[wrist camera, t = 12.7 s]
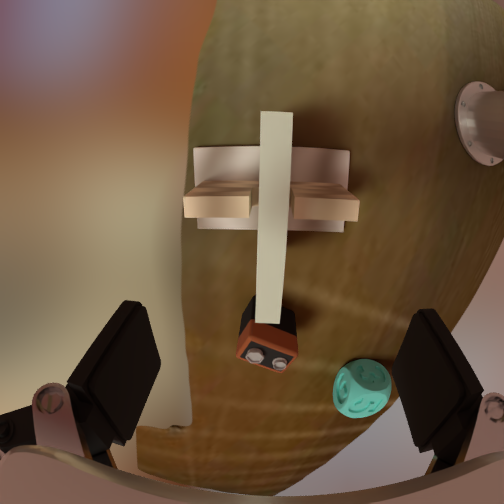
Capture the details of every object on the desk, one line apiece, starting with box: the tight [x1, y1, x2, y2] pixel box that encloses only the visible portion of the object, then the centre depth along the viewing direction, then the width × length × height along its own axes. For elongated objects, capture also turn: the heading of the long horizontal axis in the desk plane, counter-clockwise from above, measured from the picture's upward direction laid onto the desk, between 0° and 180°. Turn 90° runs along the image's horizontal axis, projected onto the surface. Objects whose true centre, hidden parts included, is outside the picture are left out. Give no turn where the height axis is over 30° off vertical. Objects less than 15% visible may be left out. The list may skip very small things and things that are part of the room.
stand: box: [183, 146, 360, 232], centre depth 29 cm, size 18×10×9 cm, turn 90°
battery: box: [236, 296, 298, 373], centre depth 36 cm, size 4×7×10 cm, turn 64°
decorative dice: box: [333, 359, 391, 418], centre depth 42 cm, size 8×8×8 cm
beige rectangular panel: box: [255, 111, 293, 324], centre depth 26 cm, size 2×16×14 cm, turn 179°
